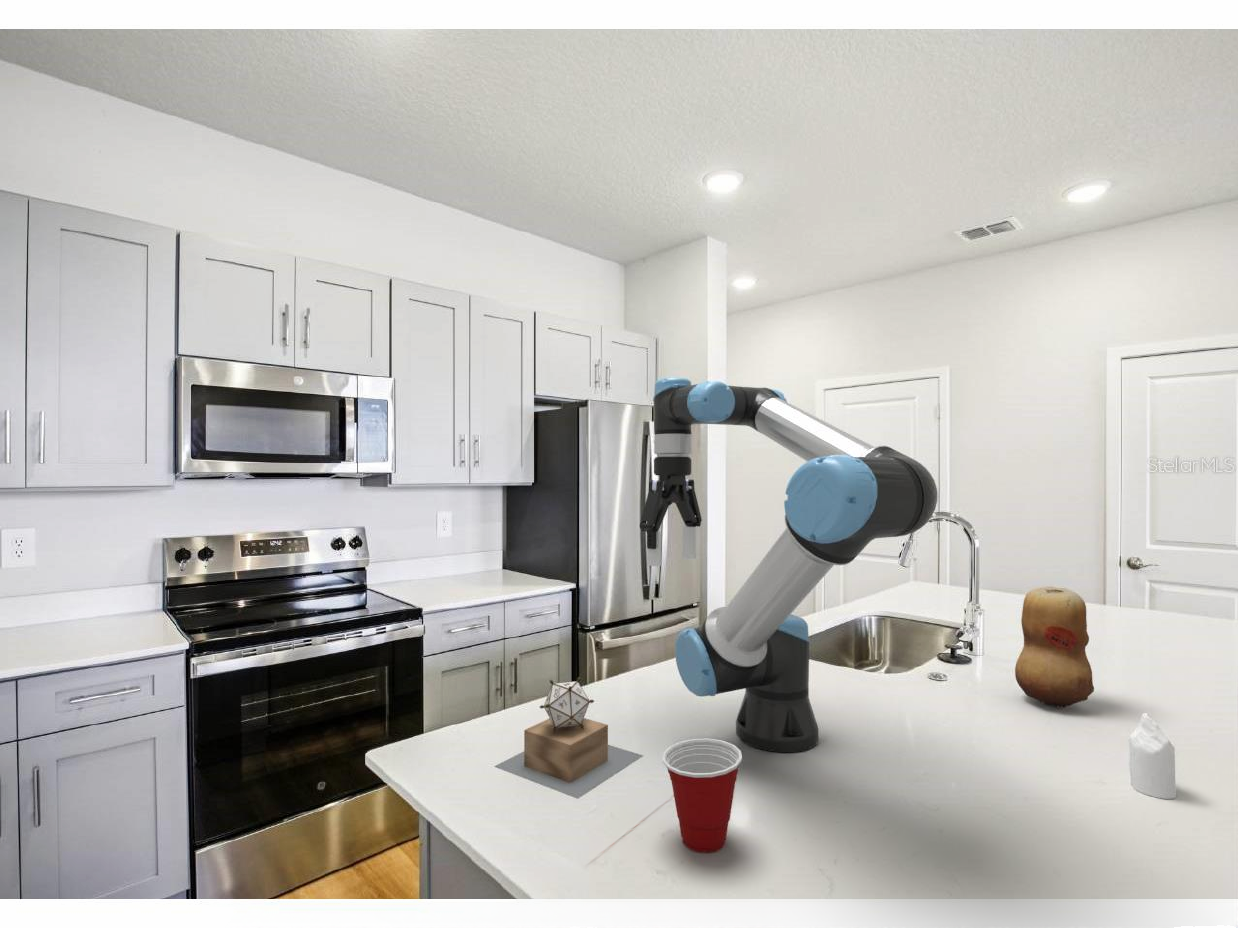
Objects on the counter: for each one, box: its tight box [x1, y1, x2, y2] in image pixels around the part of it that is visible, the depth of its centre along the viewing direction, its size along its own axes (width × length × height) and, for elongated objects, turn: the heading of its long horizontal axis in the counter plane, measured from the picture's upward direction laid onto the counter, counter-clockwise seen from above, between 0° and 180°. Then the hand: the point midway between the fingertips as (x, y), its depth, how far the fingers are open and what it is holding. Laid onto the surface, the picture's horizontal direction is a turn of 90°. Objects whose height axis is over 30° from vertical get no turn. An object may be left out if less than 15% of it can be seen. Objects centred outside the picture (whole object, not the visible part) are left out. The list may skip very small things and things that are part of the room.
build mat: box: [494, 744, 644, 799], centre depth 111 cm, size 18×18×1 cm
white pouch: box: [1128, 712, 1177, 800], centre depth 103 cm, size 6×12×6 cm
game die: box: [539, 676, 595, 733], centre depth 110 cm, size 9×8×10 cm
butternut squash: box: [1014, 586, 1095, 709], centre depth 139 cm, size 14×13×25 cm
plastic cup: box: [661, 737, 743, 854], centre depth 88 cm, size 11×11×12 cm
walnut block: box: [523, 717, 609, 783], centre depth 110 cm, size 10×10×6 cm
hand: (672, 561), depth 131 cm, fingers open, 13 cm apart
